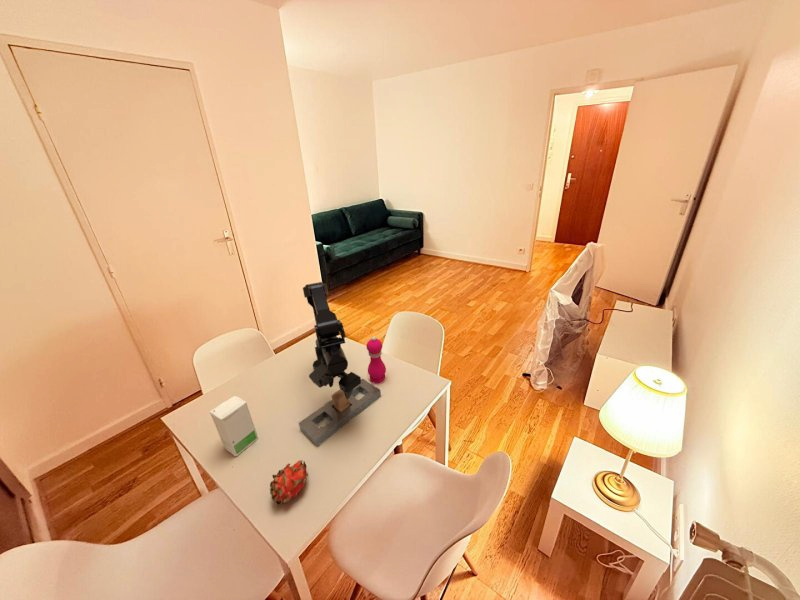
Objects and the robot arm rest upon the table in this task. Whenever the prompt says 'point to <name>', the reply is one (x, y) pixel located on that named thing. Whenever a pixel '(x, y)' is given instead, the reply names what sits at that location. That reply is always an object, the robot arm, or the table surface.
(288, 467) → the dragon fruit
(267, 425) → the table surface
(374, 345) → the pepper mill
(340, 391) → the walnut peg
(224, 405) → the skincare box
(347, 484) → the table surface
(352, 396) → the grey peg hole board
